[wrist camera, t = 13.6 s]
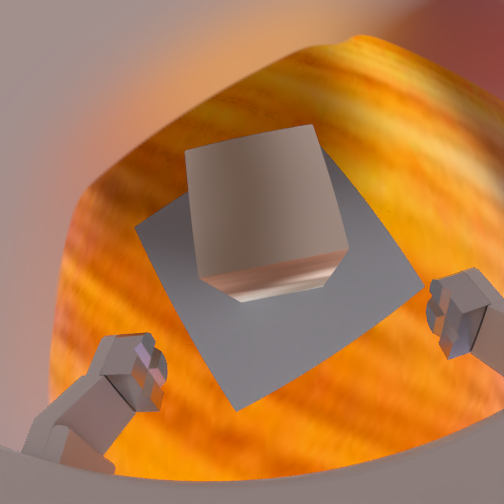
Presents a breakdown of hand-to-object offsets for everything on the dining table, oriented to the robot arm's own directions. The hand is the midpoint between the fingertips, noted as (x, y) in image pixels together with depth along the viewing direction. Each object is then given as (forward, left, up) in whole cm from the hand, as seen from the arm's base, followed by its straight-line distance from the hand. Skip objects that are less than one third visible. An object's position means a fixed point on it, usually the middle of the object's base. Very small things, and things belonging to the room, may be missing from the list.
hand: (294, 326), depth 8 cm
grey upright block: (-1, -4, -10) cm, 11 cm away
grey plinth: (-1, -4, -14) cm, 15 cm away
